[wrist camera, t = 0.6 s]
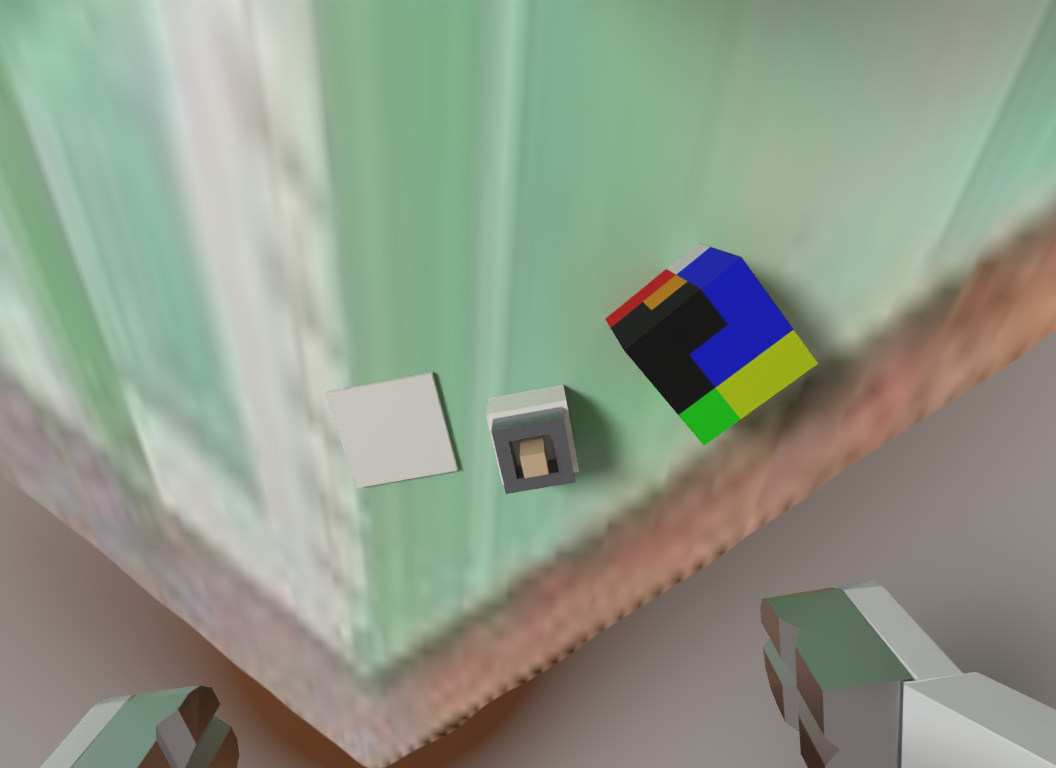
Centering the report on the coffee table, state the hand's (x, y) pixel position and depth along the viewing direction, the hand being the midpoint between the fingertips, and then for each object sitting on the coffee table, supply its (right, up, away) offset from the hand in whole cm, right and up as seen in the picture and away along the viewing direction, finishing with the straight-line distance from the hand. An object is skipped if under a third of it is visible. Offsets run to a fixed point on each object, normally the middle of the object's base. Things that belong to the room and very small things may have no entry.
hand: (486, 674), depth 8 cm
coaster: (-12, 0, +44) cm, 46 cm away
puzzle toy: (+14, +10, +41) cm, 45 cm away
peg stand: (+1, 0, +44) cm, 44 cm away
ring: (+1, -1, +41) cm, 41 cm away
